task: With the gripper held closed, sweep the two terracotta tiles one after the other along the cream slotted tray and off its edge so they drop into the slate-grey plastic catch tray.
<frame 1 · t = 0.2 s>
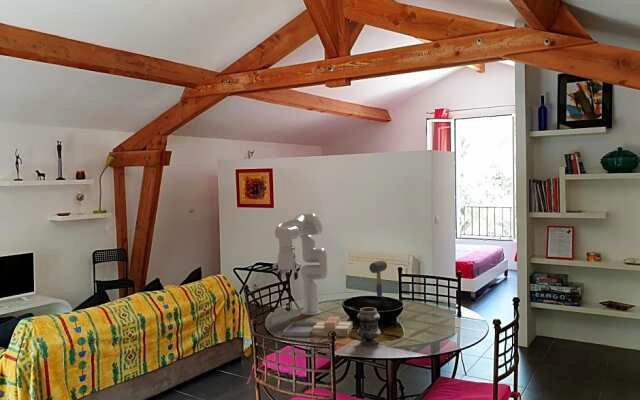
hand: (287, 279, 287), 31 cm above the table, fingers open, 9 cm apart
tile a: (333, 323, 290), point 4 cm above the table, touching cream slotted tray
catch tray: (301, 331, 291), on the table
cream slotted tray: (332, 331, 287), on the table
apothecary jar: (369, 343, 263), on the table
tile b: (331, 326, 283), point 4 cm above the table, touching cream slotted tray
rubber mallet: (380, 305, 342), on the table
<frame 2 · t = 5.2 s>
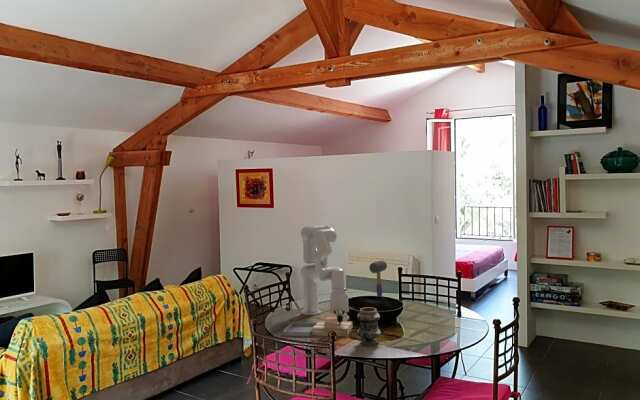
hand: (340, 322, 289), 5 cm above the table, fingers closed
tile a: (331, 323, 290), point 4 cm above the table, touching gripper
everything else where it was.
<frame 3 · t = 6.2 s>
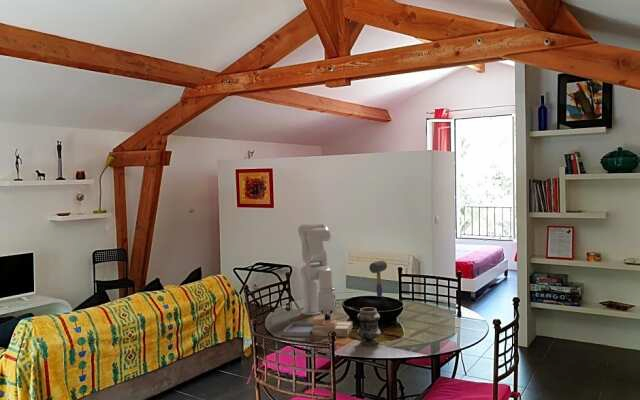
hand: (327, 321, 291), 5 cm above the table, fingers closed
tile a: (319, 323, 291), point 4 cm above the table, touching cream slotted tray
everything else where it was.
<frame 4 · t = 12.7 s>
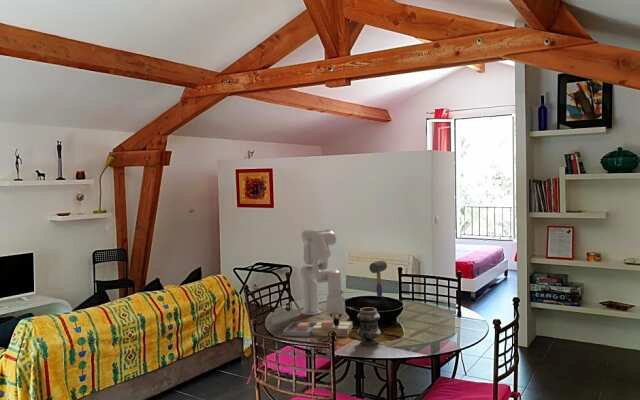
hand: (336, 325, 282), 5 cm above the table, fingers closed
tile a: (303, 324, 294), point 3 cm above the table, tilted 180°, touching catch tray
tile b: (328, 326, 283), point 4 cm above the table, touching cream slotted tray
everything else where it was.
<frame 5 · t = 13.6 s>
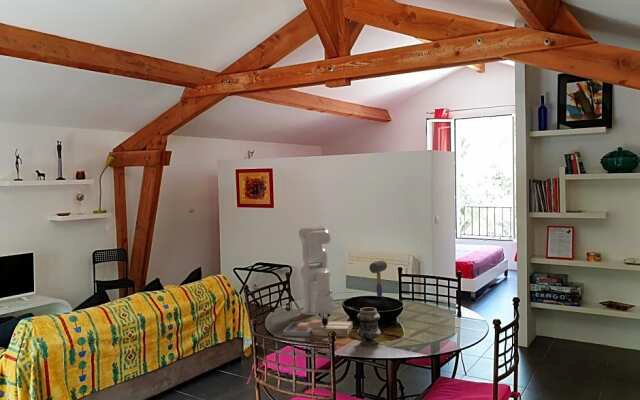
hand: (325, 325, 284), 5 cm above the table, fingers closed
tile b: (316, 326, 285), point 4 cm above the table, touching gripper
everything else where it was.
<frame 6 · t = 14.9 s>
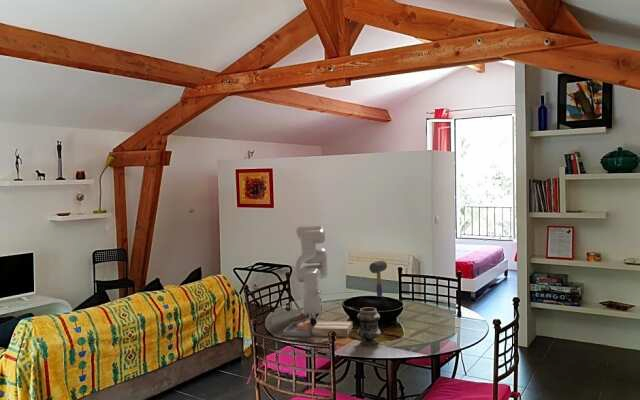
hand: (313, 325, 286), 5 cm above the table, fingers closed
tile b: (310, 327, 286), point 3 cm above the table, tilted 92°, touching catch tray, gripper
everything else where it was.
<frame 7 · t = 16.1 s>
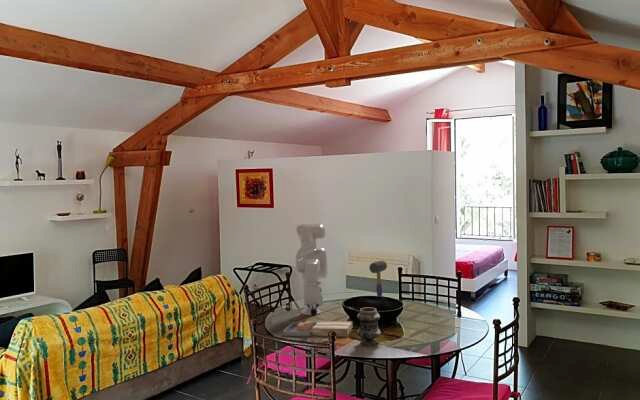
hand: (314, 315, 286), 10 cm above the table, fingers closed
tile b: (310, 327, 286), point 3 cm above the table, tilted 90°, touching catch tray
everything else where it was.
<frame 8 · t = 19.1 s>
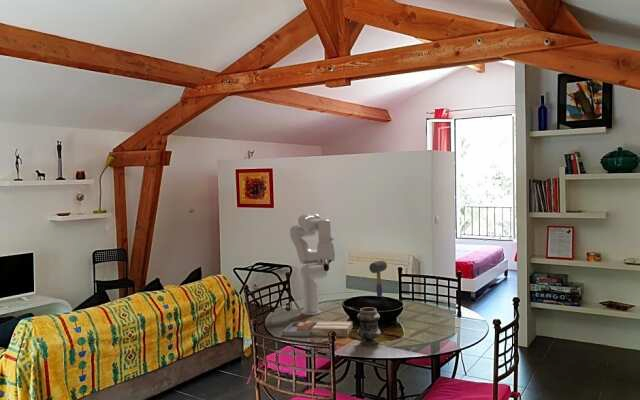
hand: (326, 270, 303), 32 cm above the table, fingers closed
nothing on the table moved.
at the end: tile a inside the target area on the catch tray (2.6 cm from its centre), point 3.4 cm above the catch tray's base; tile b inside the target area on the catch tray (7.5 cm from its centre), point 3.4 cm above the catch tray's base; tile a touching catch tray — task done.
